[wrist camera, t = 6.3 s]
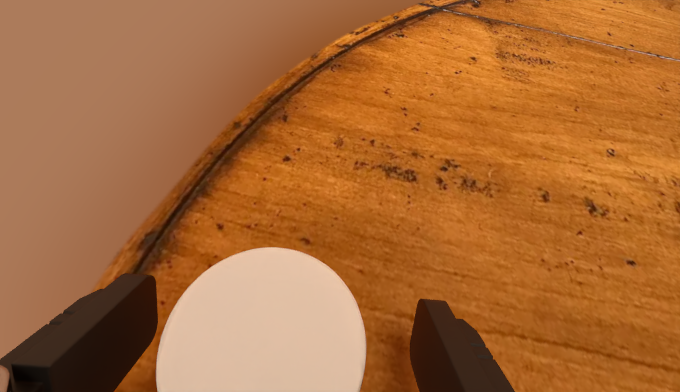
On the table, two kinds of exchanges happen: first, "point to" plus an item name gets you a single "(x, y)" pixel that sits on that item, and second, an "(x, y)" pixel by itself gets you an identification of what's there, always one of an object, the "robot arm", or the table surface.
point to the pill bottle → (264, 329)
